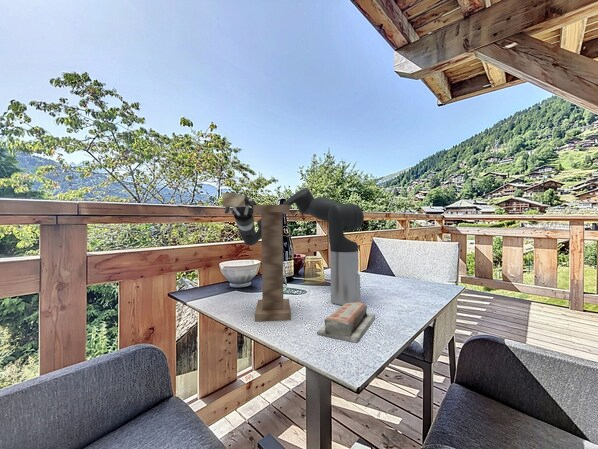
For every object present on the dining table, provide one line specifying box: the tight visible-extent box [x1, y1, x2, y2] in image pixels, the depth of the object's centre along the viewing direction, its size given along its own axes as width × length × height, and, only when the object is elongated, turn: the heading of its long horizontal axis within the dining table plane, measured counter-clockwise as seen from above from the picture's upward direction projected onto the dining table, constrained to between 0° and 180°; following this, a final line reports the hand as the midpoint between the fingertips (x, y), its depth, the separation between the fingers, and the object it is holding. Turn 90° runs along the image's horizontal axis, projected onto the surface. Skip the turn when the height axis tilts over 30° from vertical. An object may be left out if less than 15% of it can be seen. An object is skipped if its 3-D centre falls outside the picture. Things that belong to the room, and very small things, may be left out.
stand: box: [253, 204, 292, 322], centre depth 80 cm, size 10×14×32 cm
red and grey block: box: [316, 301, 376, 344], centre depth 69 cm, size 18×5×10 cm
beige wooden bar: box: [222, 192, 246, 208], centre depth 89 cm, size 4×24×4 cm, turn 4°
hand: (238, 197), depth 96 cm, fingers closed on beige wooden bar, 4 cm apart
